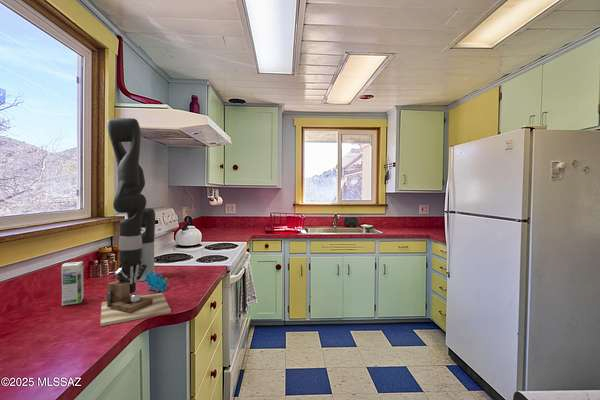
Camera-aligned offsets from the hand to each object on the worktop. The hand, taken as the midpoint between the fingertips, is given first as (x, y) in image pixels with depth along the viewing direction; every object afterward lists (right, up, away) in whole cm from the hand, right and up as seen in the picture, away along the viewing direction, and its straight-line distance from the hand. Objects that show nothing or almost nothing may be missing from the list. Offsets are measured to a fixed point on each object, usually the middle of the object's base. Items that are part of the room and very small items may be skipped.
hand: (131, 292), depth 112 cm
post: (+5, -4, -7) cm, 10 cm away
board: (+5, -4, -7) cm, 10 cm away
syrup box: (-21, -3, -1) cm, 21 cm away
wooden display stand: (+2, -2, -7) cm, 7 cm away
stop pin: (-3, -3, -7) cm, 9 cm away
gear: (+4, -3, +12) cm, 13 cm away
